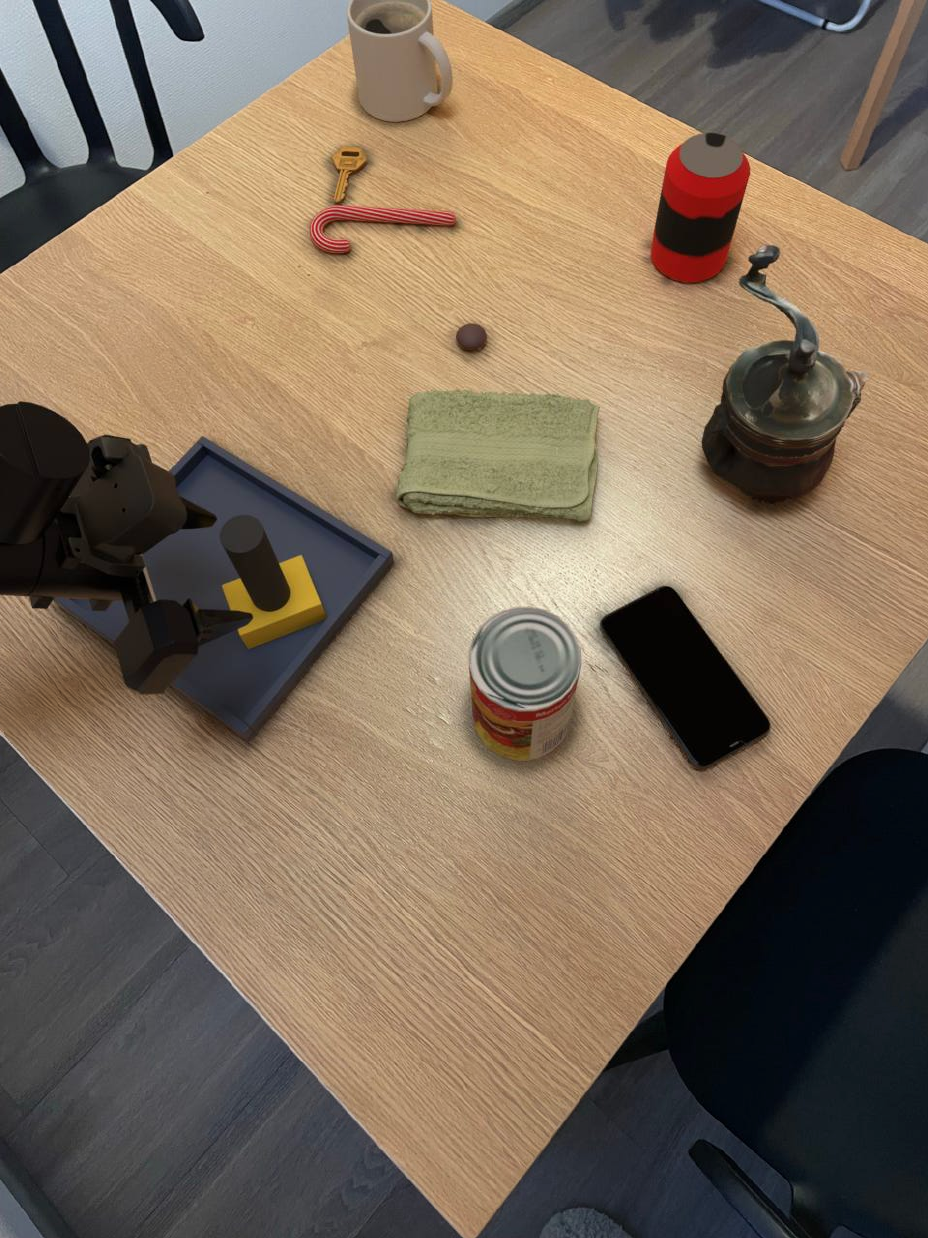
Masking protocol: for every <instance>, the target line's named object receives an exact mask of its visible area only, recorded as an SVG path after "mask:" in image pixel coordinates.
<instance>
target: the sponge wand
mask: <svg viewBox="0 0 928 1238" xmlns="http://www.w3.org/2000/svg"><path fill="white" fill-rule="evenodd" d="M220 541H221V543H222V545H223V547H224V549H225V551H226V553H227V555H228V557H229V558H230V560H231V562H232V564H233V566H234V568H235V570H236V572H237V573H238V575H239V577H240V579H237V580H234V581H232V582H229V583H226V584H224V585H222V588H223V590H224V593H225V596H226V599H227V601H228V604H229V607H230V610H235V611H243V612H248V613H252V615H253V619H252V620H251V622H250V623H249V624H248V625H246V626H244V627H242V628H239V629H238V632H239V635H240V637H241V638H242V640H243V642H244V643H245V645H246V647H247V648H248V649H252V648H254V647H257V646H259V645H262V644H264V643H267V642H269V641H272V640H275V639H277V638H280V637H282V636H285V635H287V634H290V633H292V632H295V631H297V630H300V629H303V628H305V627H308V626H310V625H313V624H315V623H318V622H320V621H323V620H325V619H327V617H326V614H325V612H324V609H323V607H322V604H321V601H320V599H319V597H318V594H317V592H316V589H315V587H314V584H313V582H312V579H311V577H310V574H309V572H308V569H307V567H306V564H305V562H304V559H303V557H302V555H300V556H297V557H294V558H292V559H289V560H287V561H284V562H281V563H279V562H278V560H277V557H276V555H275V553H274V551H273V548H272V546H271V544H270V542H269V539H268V537H267V535H266V532H265V530H264V528H263V526H262V524H261V522H260V521H259V520H258V519H257V518H255V517H253V516H250V515H238V516H235V517H233V518H231V519H229V520H228V521H227V522H226V523H225V524H224V525H223V527H222V529H221V532H220Z"/></svg>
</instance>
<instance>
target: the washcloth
mask: <svg viewBox="0 0 928 1238" xmlns="http://www.w3.org/2000/svg"><path fill="white" fill-rule="evenodd" d="M600 408H601V406H600V405H598V404H594V403H592V402H591V401H590V400H589V399H581V398H575V397H574V398H573V397H571V396H565V395H560V394H558V393H545V394H540V393H539V394H535V393H533V392H532V393H530V394H527V393H516V392H509V393H506V392H505V391H504V392H500V393H499V392H497V391H494V392H492V391H488V392H487V391H480V392H476V391H473V390H472V389H471V390H470V389H469V390H467V389H464V390H460V389H455V390H447V389H445V390H444V391H443V390H438V391H437V390H436V389H432V390H429V391H428V390H426V391H418V392H415V394H412V395H411V396H409V398H408V407H407V410H408V411H407V418H406V421H407V428H406V430H405V437H406V438H404V440H405V441H406V442H407V446H406V454H405V456H406V457H405V461H403V464H402V467H401V469H400V475H399V477H398V479H397V486H396V488H395V501H396V503H397V504H398V505H399V506H401V507H403V508H405V509H409V510H411V511H412V512H413V513H415V514H422V515H424V514H426V515H431V516H436V515H440V514H443V515H457V516H459V517H462V518H496V517H497V518H503V517H505V518H506V517H508V518H509V517H511V518H546V517H548V518H551V517H558V518H559V519H571V520H576V521H578V522H580V523H582V522H586V521H590V518H591V514H592V504H593V495H594V489H595V485H596V481H597V478H596V477H597V473H598V467H599V461H598V460H599V457H598V450H597V446H596V442H595V437H596V432H597V431H596V430H597V421H598V417H599V412H600Z"/></svg>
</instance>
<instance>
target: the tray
mask: <svg viewBox="0 0 928 1238" xmlns="http://www.w3.org/2000/svg"><path fill="white" fill-rule="evenodd" d="M168 471H169V472H171V473H172V474H173V475H174V478H175V480H176V483H175V485H176V488H177V491H178V494H179V496H181V497H183V498H185V499H187V500H189V501H190V502H192V503H194V504H196V505H198V506H200V507H202V508H204V509H205V510H207V511H209V512H211V513H213V514H215V515H216V517H217V521H216V522H215V524H214V525H213V526H212V527H207V528H199V529H180V530H179V531H178V532H176V533H175V534H171V535H169V536H167V537H166V538H165V539H163V540H162V541H161V542H159V543H158V544H156V545H155V546H154V547H152V548H151V549H150V550H148V551H147V552H145V553H144V554H142V556H143V559H144V562H145V566H146V569H147V572H148V575H149V578H150V581H151V584H152V587H153V590H154V593H155V597H156V600H159V599H164V600H175V601H176V602H178V603H179V604H180V605H183V604H184V603H185V601H186V600H187V599H188V598H190V599H191V600H192V601H193V603H194V604H195V605H196V607H197V608H198V609H211V610H230V607H229V604H228V601H227V599H226V596H225V593H224V590H223V588H222V585H224V584H226V583H229V582H232V581H234V580H237V579H240V577H239V575H238V573H237V572H236V570H235V568H234V566H233V564H232V562H231V560H230V558H229V557H228V555H227V553H226V551H225V549H224V547H223V545H222V543H221V541H220V532H221V529H222V527H223V525H224V524H225V523H226V522H227V521H228V520H229V519H231V518H233V517H235V516H238V515H250V516H253V517H255V518H257V519H258V520H259V521H260V522H261V524H262V526H263V528H264V530H265V532H266V535H267V537H268V539H269V542H270V544H271V546H272V548H273V551H274V553H275V555H276V557H277V560H278V562H279V563H281V562H284V561H287V560H289V559H292V558H294V557H297V556H300V555H302V557H303V559H304V562H305V564H306V567H307V569H308V572H309V574H310V577H311V579H312V582H313V584H314V587H315V589H316V592H317V594H318V597H319V599H320V601H321V604H322V607H323V609H324V612H325V614H326V617H327V619H325V620H323V621H320V622H318V623H315V624H313V625H310V626H308V627H305V628H303V629H300V630H297V631H295V632H292V633H290V634H287V635H285V636H282V637H280V638H277V639H275V640H272V641H269V642H267V643H264V644H262V645H259V646H257V647H254V648H252V649H248V648H247V647H246V645H245V643H244V642H243V640H242V638H241V637H240V635H239V632H238V629H237V630H235V631H233V632H231V633H228V634H226V635H224V636H222V637H219V638H217V639H215V640H213V641H211V642H208V643H206V644H204V645H202V646H200V647H198V653H197V655H196V656H195V658H194V659H193V660H192V661H191V662H190V663H189V664H188V665H187V667H186V668H185V669H184V670H183V671H182V672H181V673H180V675H179V676H178V677H177V678H176V679H175V680H174V681H173V682H172V684H171V685H170V686H169V687H171V688H172V689H174V690H176V691H177V692H178V693H180V695H182V696H183V697H185V698H187V699H188V700H189V701H191V702H192V703H193V704H195V705H196V706H198V707H199V708H201V709H202V710H203V711H205V712H207V713H208V714H209V715H210V716H212V717H213V718H215V719H216V720H218V722H220V723H222V724H223V725H224V726H226V727H227V728H229V729H230V730H231V731H233V732H234V733H236V734H237V735H238V736H240V737H241V738H242V739H244V740H245V741H247V742H248V743H250V742H251V741H252V740H253V739H254V738H255V736H256V735H257V733H258V732H259V731H260V730H261V729H262V727H263V726H264V725H265V724H266V723H267V721H268V720H269V719H270V718H271V716H272V715H273V714H274V713H275V711H277V709H278V708H279V707H280V705H281V704H282V703H283V702H284V700H285V699H286V698H287V696H289V694H290V693H291V692H292V691H293V689H294V688H295V687H296V685H297V684H298V683H299V682H300V681H301V679H302V678H303V677H304V676H305V675H306V673H307V672H308V671H309V669H311V667H312V666H313V665H314V663H315V662H316V661H317V660H318V658H319V657H320V656H321V655H322V654H323V652H324V651H325V650H326V649H327V648H328V647H329V645H330V644H331V642H332V641H333V640H334V639H335V638H336V636H337V635H338V634H339V633H340V632H341V630H342V629H343V628H344V626H345V625H346V624H347V623H348V622H349V620H350V619H351V618H352V617H353V616H354V614H355V613H356V612H357V611H358V610H359V608H360V607H361V605H362V604H363V603H364V602H365V601H366V599H367V598H368V597H369V596H370V594H371V593H372V592H373V591H374V590H375V588H376V587H377V586H378V585H379V584H380V582H381V581H382V580H383V579H384V577H385V576H386V574H387V573H388V572H389V571H390V569H392V567H394V565H395V560H394V554H393V551H391V550H390V549H388V548H386V547H385V546H383V545H381V544H380V543H378V542H377V541H375V540H374V539H372V538H370V537H369V536H367V535H365V534H363V533H362V532H360V531H358V530H357V529H355V528H354V527H352V526H350V525H349V524H348V523H345V522H344V521H342V520H341V519H339V518H337V517H335V516H334V515H333V514H331V513H329V512H328V511H327V510H325V509H322V508H321V507H320V506H318V505H316V504H315V503H313V502H311V501H310V500H308V499H307V498H305V497H303V496H301V495H300V494H298V493H296V492H295V491H293V490H292V489H290V488H288V487H287V486H285V485H283V484H282V483H280V482H279V481H277V480H275V479H274V478H272V477H270V476H269V475H268V474H266V473H264V472H262V471H261V470H259V469H258V468H256V467H254V466H252V465H251V464H249V463H247V462H246V461H244V460H243V459H241V458H240V457H238V456H236V455H235V454H233V453H231V452H230V451H228V450H227V449H225V448H223V447H221V446H220V445H219V444H217V443H215V442H213V441H212V440H210V439H209V438H207V437H205V436H204V435H201V437H199V439H197V441H196V442H195V443H194V444H193V445H192V446H191V447H190V448H189V449H188V450H187V451H186V452H185V453H184V454H183V455H182V456H181V457H180V459H179V460H178V461H177V462H176V463H175V464H173V466H172V467H171V468H170V469H169V470H168ZM52 602H54V603H55V604H56V605H57V606H58V607H59V608H60V609H62V610H63V611H64V612H66V613H67V614H69V615H70V616H71V617H73V618H74V619H75V620H77V621H79V623H81V624H83V626H86V628H88V629H90V630H91V631H93V632H94V633H95V634H96V635H98V636H99V637H101V638H102V639H104V640H105V641H107V642H108V643H110V644H111V645H112V646H114V645H113V642H114V641H115V639H116V638H117V637H118V635H119V634H120V633H121V632H122V630H123V629H124V628H125V626H126V625H127V624H128V623H129V620H128V616H127V613H126V610H125V606H124V603H123V600H120V601H113V602H112V604H111V605H110V606H109V608H108V609H107V610H106V611H92V610H91V606H90V603H89V599H69V598H54V600H53V601H52Z"/></svg>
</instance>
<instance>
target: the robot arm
mask: <svg viewBox="0 0 928 1238" xmlns="http://www.w3.org/2000/svg"><path fill="white" fill-rule="evenodd" d="M151 457H152V456H151V454H150V451H149V448H148V446H147V445H146V444H144V443H138V444H136V443H134V442H132V440H131V438H127V437H122V436H118V435H117V436H116V435H112V434H111V435H110V434H105V433H104V434H101V435H99V436H96V437H94V438H91V439H89V440H88V441H87V440H86V438H85V437H84V435H83V433H82V432H80V430H79V429H78V428H77V427H76V425H74V424H73V423H72V422H71V421H69V420H68V418H66V417H64V416H63V415H61V414H59V413H58V412H56V411H55V410H53V409H50V408H48V407H46V406H44V405H40V404H37V403H33V402H30V401H24V400H23V401H22V400H21V401H20V400H19V401H18V402H17V403H7V404H3V405H0V596H7V597H8V596H10V597H28V599H29V602H30V607H31V608H32V609H36V610H48V609H49V607H50V606H51V604H52V603H53V602H54V601H53V600H54V598H69V599H89V603H90V606H91V610H92V611H106V610H107V609H108V608H109V606H110V605H111V604H112V602H113V601H120V600H123V603H124V606H125V610H126V613H127V616H128V620H129V623H128V624H127V625H126V626H125V628H124V629H123V630H122V632H121V633H120V634H119V635H118V637H117V638H116V639H115V641H114V642H113V645H112V646H113V648H114V652H115V655H116V659H117V662H118V664H119V665H118V666H119V669H120V672H121V676H122V679H123V682H124V686H125V687H127V689H128V690H130V692H132V693H134V694H138V695H163V694H164V693H165V692H166V691H167V689H168V688H169V687H171V686H170V685H171V684H172V682H173V681H174V680H175V679H176V678H177V677H178V676H179V675H180V673H181V672H182V671H183V670H184V669H185V668H186V667H187V665H188V664H189V663H190V662H191V661H192V660H193V659H194V658H195V656H196V655H197V653H198V647H200V646H202V645H204V644H206V643H208V642H211V641H213V640H215V639H217V638H219V637H222V636H224V635H226V634H228V633H231V632H233V631H235V630H237V629H239V628H242V627H244V626H246V625H248V624H249V623H250V622H251V620H252V619H253V615H252V613H248V612H243V611H235V610H211V609H198V608H197V607H196V605H195V604H194V603H193V601H192V600H191V599H190V598H188V599H187V600H186V601H185V603H184V604H183V605H180V604H179V603H178V602H176V601H175V600H164V599H159V600H156V597H155V593H154V590H153V587H152V584H151V581H150V578H149V575H148V572H147V569H146V566H145V562H144V559H143V556H142V554H144V553H145V552H147V551H148V550H150V549H151V548H152V547H154V546H155V545H156V544H158V543H159V542H161V541H162V540H163V539H165V538H166V537H167V536H169V535H171V534H175V533H176V532H178V531H179V530H180V529H199V528H207V527H212V526H213V525H214V524H215V522H216V521H217V517H216V515H215V514H213V513H211V512H209V511H207V510H205V509H204V508H202V507H200V506H198V505H196V504H194V503H192V502H190V501H189V500H187V499H185V498H183V497H181V496H179V494H178V491H177V488H176V485H175V483H176V480H175V478H174V475H173V474H172V473H171V472H169V470H167V469H165V468H164V467H161V466H160V465H157V464H155V463H154V462H153V460H152V458H151Z"/></svg>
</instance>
